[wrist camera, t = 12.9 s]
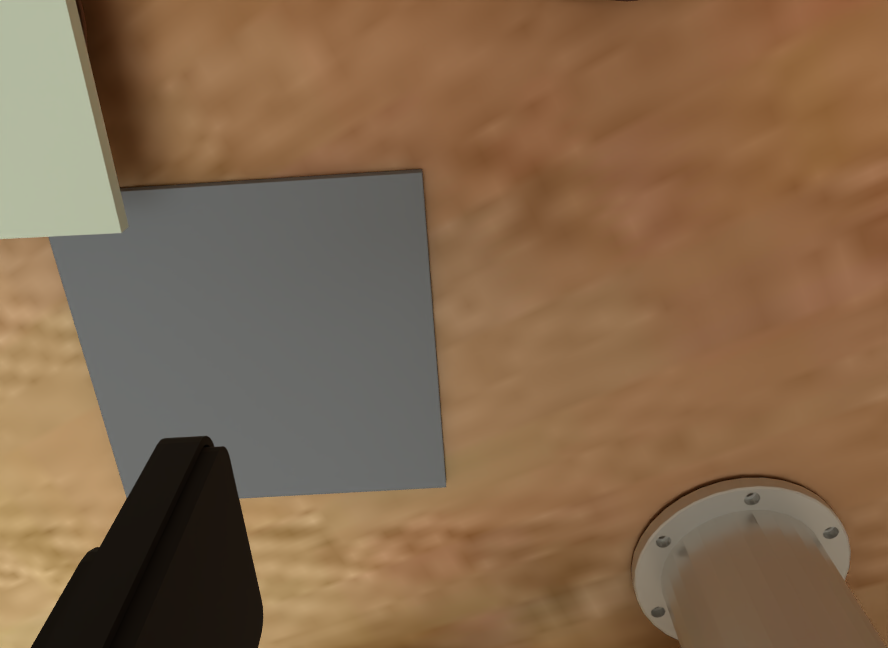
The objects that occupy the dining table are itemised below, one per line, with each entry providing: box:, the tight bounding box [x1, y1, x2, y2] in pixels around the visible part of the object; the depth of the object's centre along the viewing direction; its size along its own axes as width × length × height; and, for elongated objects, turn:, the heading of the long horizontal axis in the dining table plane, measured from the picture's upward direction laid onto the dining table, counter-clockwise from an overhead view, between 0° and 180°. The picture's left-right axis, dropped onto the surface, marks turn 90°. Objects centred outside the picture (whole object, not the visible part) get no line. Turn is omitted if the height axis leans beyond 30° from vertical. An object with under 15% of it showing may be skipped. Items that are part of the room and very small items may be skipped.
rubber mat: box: [49, 169, 446, 498], centre depth 41 cm, size 18×18×1 cm
